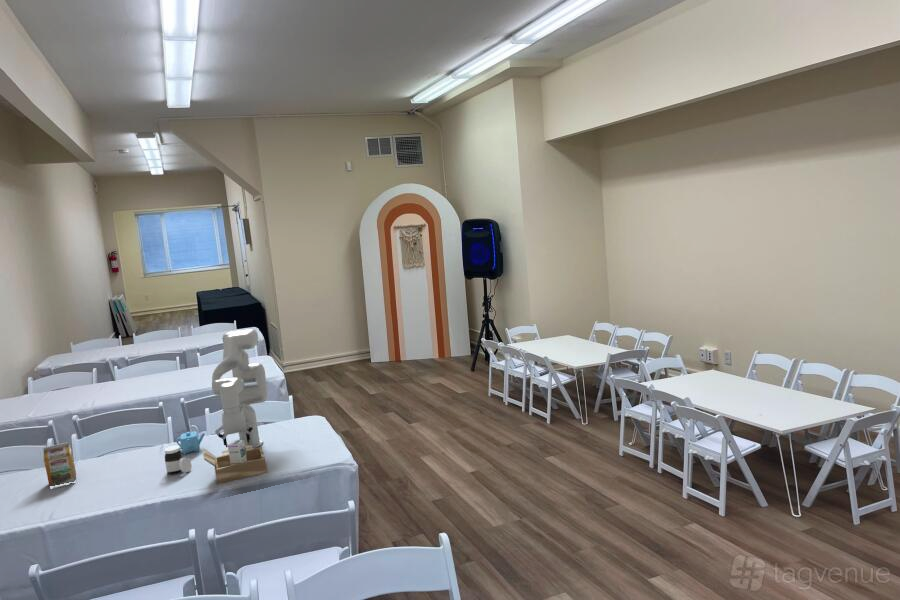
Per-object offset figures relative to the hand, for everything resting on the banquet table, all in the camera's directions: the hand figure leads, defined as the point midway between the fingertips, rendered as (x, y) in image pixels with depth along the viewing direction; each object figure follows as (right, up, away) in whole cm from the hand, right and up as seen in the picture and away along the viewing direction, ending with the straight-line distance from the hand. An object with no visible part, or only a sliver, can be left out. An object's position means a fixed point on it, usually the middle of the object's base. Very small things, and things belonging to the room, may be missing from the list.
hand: (237, 443), depth 302 cm
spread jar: (-31, -15, +9) cm, 35 cm away
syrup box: (+1, -13, +1) cm, 13 cm away
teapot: (-34, -11, +34) cm, 50 cm away
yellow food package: (-86, -21, +8) cm, 89 cm away
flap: (-11, -5, -5) cm, 13 cm away
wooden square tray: (0, -13, +4) cm, 14 cm away
